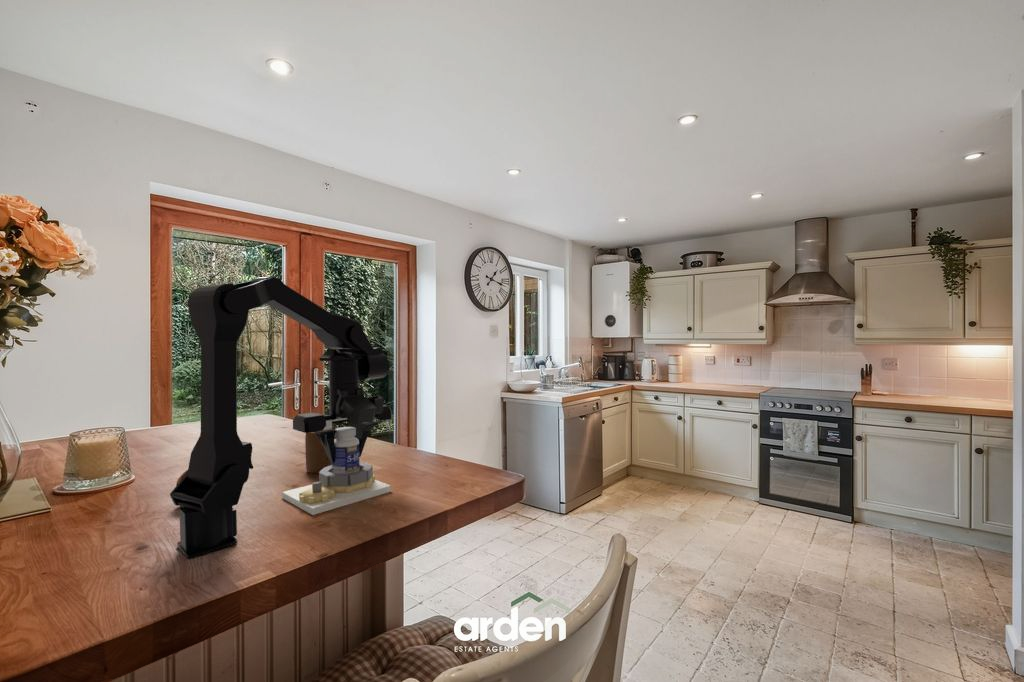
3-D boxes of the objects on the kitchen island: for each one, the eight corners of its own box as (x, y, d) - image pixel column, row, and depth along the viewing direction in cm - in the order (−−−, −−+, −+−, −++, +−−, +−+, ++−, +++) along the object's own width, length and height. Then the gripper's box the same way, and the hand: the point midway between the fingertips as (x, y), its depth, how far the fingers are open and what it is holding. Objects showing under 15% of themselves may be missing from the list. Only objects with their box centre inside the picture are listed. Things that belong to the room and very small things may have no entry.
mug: (350, 474, 107) (349, 433, 107) (315, 481, 103) (314, 437, 103) (335, 462, 117) (334, 424, 117) (302, 468, 113) (301, 428, 113)
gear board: (311, 515, 84) (311, 490, 84) (281, 498, 93) (281, 475, 93) (390, 491, 96) (390, 469, 96) (357, 478, 104) (357, 458, 104)
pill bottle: (350, 476, 93) (350, 431, 93) (326, 475, 94) (325, 430, 94) (364, 469, 99) (363, 426, 98) (341, 468, 100) (340, 425, 100)
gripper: (317, 390, 84) (319, 478, 84) (406, 381, 98) (407, 457, 98) (290, 385, 91) (292, 466, 92) (376, 378, 105) (378, 448, 105)
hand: (345, 459), depth 96 cm, fingers closed on pill bottle, 5 cm apart
